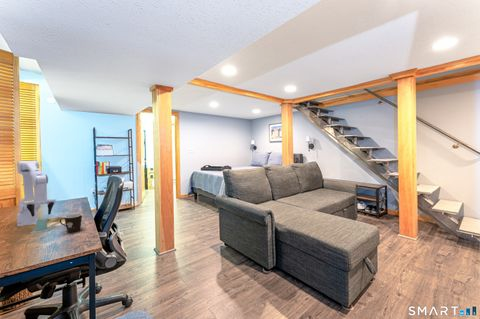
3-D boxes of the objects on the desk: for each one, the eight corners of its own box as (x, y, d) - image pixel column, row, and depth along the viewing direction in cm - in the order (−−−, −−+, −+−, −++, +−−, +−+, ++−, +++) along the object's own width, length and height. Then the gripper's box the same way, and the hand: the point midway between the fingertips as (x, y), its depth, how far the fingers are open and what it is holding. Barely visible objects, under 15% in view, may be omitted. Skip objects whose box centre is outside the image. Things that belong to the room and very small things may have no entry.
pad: (29, 234, 125) (29, 233, 125) (34, 229, 132) (34, 228, 132) (49, 231, 129) (49, 230, 129) (53, 226, 137) (53, 226, 137)
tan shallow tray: (41, 228, 134) (41, 223, 134) (46, 223, 144) (46, 218, 144) (66, 224, 141) (66, 219, 141) (69, 220, 150) (69, 215, 150)
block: (36, 231, 128) (36, 221, 128) (38, 229, 131) (38, 219, 131) (45, 229, 130) (44, 220, 130) (47, 227, 133) (46, 218, 133)
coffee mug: (85, 229, 132) (85, 214, 132) (71, 234, 124) (70, 218, 124) (73, 227, 136) (73, 212, 135) (58, 232, 128) (58, 216, 127)
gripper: (22, 196, 123) (22, 218, 123) (54, 194, 130) (54, 215, 131) (26, 194, 129) (27, 215, 129) (56, 192, 136) (57, 212, 137)
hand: (41, 215), depth 130 cm, fingers open, 7 cm apart
